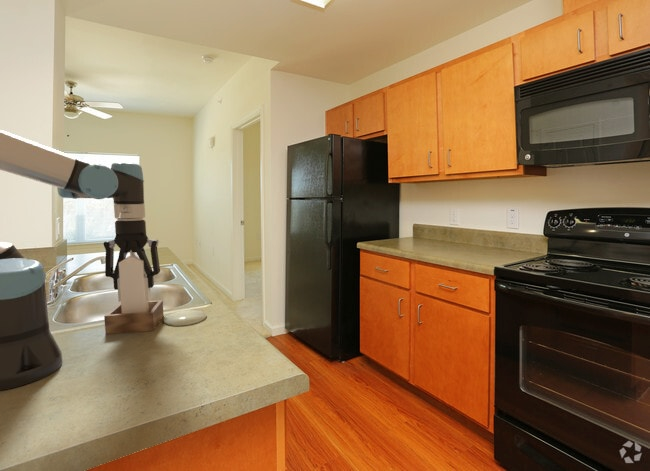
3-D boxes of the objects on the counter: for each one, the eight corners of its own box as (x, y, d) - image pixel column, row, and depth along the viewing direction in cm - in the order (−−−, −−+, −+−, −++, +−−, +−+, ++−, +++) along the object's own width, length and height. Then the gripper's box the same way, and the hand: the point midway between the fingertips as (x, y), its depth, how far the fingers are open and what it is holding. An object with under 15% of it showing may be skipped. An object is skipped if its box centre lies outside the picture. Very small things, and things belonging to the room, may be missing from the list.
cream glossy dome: (159, 327, 98) (159, 325, 98) (168, 313, 110) (168, 311, 110) (203, 324, 101) (203, 322, 101) (208, 310, 113) (208, 309, 113)
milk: (122, 329, 97) (116, 251, 94) (127, 322, 103) (122, 248, 100) (146, 326, 99) (141, 250, 96) (150, 319, 105) (145, 247, 102)
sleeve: (105, 333, 94) (104, 316, 93) (120, 318, 105) (119, 302, 105) (153, 330, 96) (152, 312, 96) (163, 315, 108) (162, 300, 107)
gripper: (85, 220, 92) (91, 305, 94) (164, 219, 96) (168, 301, 98) (97, 218, 99) (102, 297, 101) (169, 218, 103) (173, 293, 106)
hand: (135, 299), depth 100 cm, fingers closed on milk, 6 cm apart
